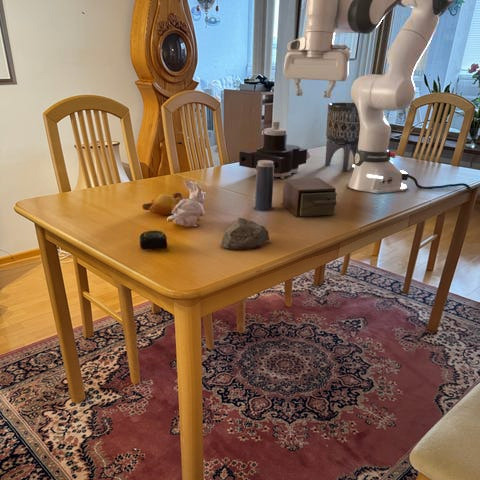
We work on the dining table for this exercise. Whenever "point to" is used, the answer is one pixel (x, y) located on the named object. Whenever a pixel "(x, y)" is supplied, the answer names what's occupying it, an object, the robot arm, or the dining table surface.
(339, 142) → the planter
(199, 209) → the figurine
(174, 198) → the toy
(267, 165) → the salt shaker
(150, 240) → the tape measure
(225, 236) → the rock
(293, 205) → the cabinet
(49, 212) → the dining table surface
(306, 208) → the drawer
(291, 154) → the mechanical component
